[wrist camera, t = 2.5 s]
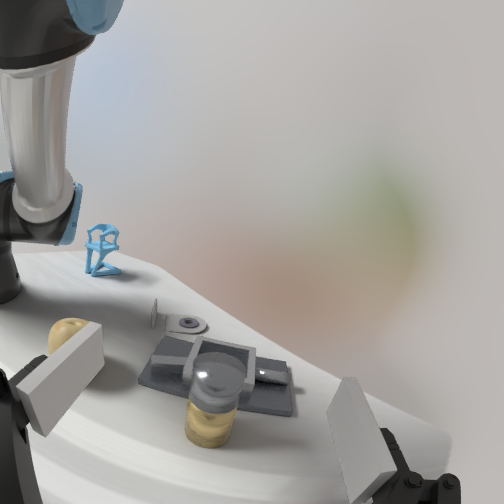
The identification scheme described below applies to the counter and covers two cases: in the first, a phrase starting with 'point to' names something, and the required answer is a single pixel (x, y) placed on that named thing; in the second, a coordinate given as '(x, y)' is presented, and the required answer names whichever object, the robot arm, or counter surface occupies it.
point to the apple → (64, 332)
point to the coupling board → (258, 369)
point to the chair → (101, 250)
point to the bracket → (180, 322)
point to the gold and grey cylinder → (213, 398)
